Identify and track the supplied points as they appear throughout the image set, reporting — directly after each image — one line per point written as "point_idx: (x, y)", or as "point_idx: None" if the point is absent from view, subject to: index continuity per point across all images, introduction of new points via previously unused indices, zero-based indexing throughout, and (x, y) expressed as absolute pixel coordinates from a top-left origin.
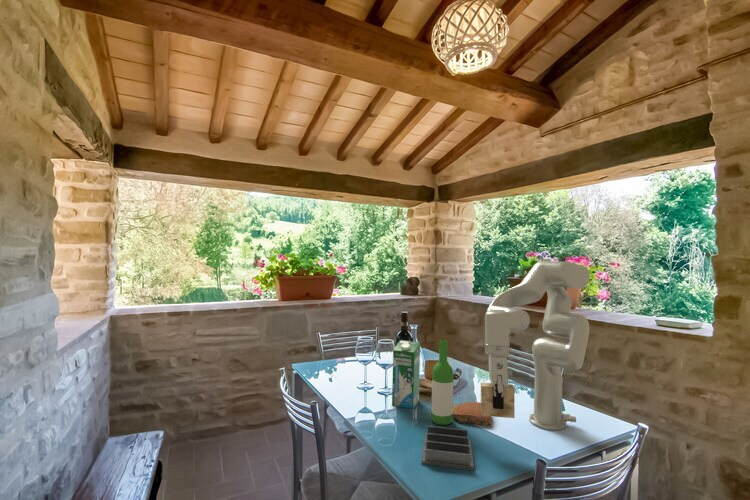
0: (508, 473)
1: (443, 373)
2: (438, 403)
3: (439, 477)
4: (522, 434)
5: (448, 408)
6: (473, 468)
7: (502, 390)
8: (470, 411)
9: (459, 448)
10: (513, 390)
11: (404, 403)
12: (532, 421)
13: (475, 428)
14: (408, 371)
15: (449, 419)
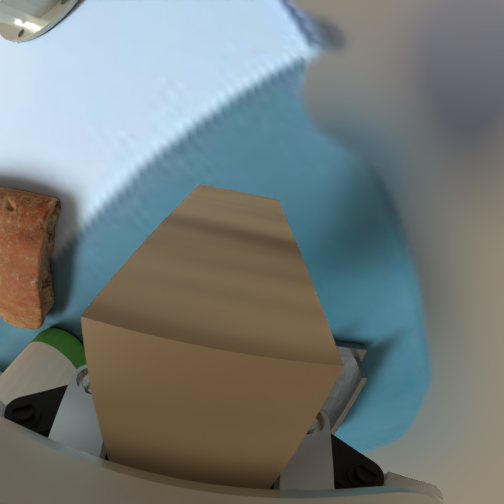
0: (395, 250)
1: None
2: None
3: (373, 411)
4: (109, 84)
5: (61, 381)
6: (364, 347)
7: (331, 477)
8: (18, 278)
9: None
10: (324, 347)
11: None
12: (37, 33)
13: (82, 262)
14: None
15: (75, 351)
